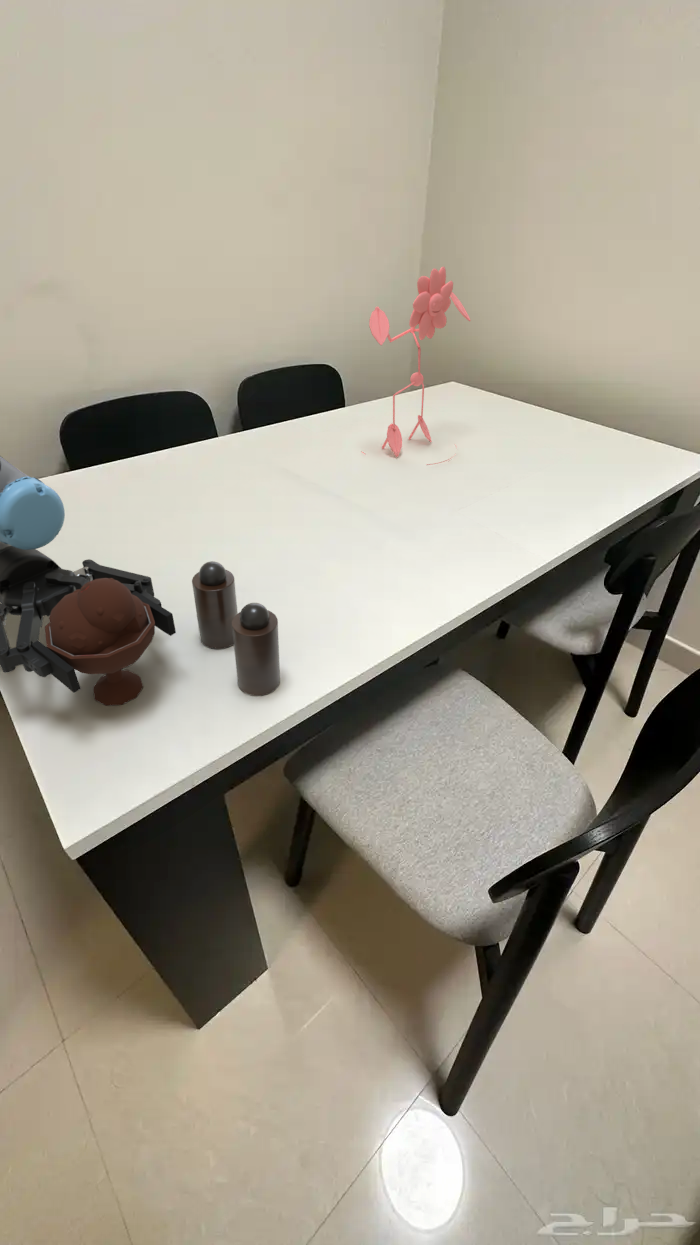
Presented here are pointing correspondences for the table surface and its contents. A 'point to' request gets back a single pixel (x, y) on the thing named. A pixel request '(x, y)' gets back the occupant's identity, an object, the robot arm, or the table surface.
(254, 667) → the walnut mill near
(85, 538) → the table surface
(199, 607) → the walnut mill middle
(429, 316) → the figurine
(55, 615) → the ice cream bowl
